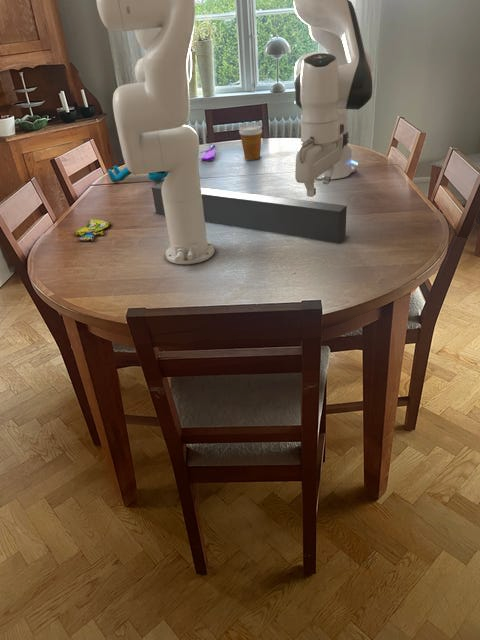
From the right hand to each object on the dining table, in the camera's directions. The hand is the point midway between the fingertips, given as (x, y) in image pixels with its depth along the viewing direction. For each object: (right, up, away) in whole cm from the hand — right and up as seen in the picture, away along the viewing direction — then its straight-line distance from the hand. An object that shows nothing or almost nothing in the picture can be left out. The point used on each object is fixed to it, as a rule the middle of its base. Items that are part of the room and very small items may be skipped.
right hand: (319, 189), depth 121 cm
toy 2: (-55, +21, +63) cm, 86 cm away
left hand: (-40, +12, +21) cm, 47 cm away
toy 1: (-64, -7, +22) cm, 68 cm away
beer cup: (-15, +34, +78) cm, 87 cm away
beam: (-19, -5, +18) cm, 27 cm away
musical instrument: (-37, +38, +87) cm, 102 cm away
